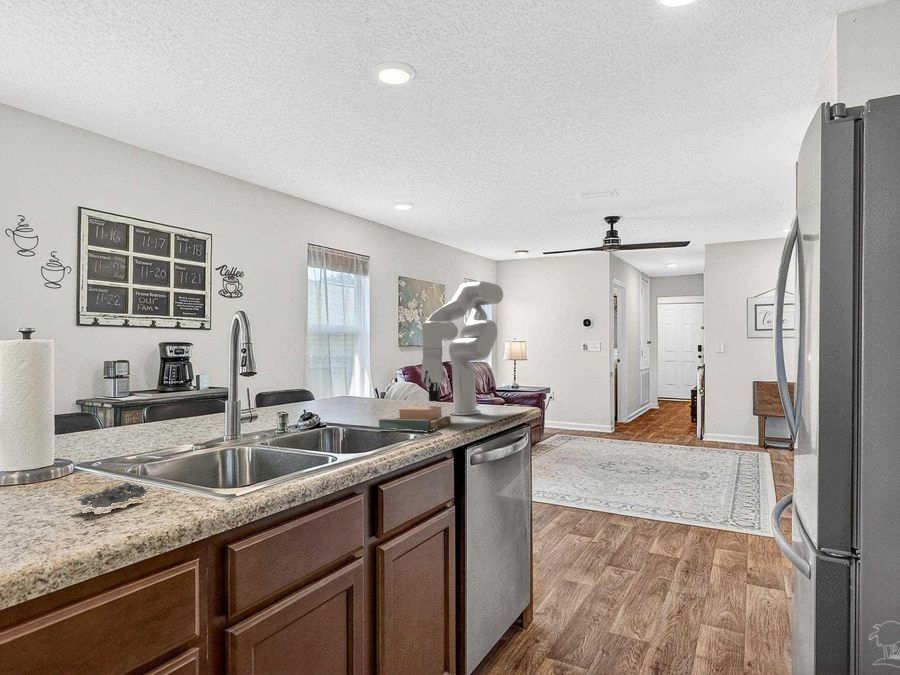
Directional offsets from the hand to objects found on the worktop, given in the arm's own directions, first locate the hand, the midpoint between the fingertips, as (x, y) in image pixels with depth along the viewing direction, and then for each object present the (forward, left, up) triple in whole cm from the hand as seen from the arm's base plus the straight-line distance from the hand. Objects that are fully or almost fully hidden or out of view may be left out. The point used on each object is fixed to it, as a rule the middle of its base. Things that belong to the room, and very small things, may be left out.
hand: (433, 401), depth 209 cm
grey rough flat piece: (+117, -13, -8) cm, 118 cm away
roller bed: (+15, 0, -8) cm, 17 cm away
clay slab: (+11, 0, -5) cm, 12 cm away
